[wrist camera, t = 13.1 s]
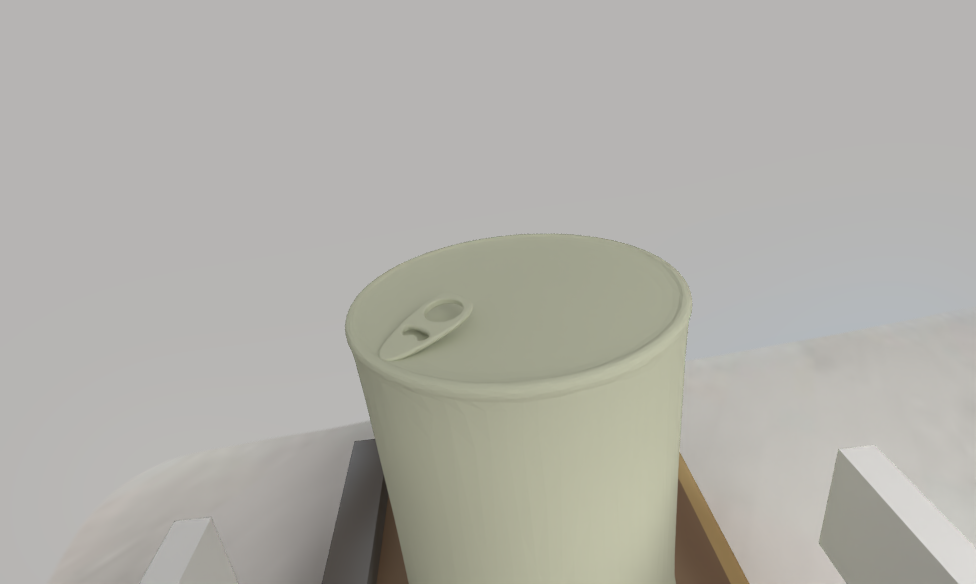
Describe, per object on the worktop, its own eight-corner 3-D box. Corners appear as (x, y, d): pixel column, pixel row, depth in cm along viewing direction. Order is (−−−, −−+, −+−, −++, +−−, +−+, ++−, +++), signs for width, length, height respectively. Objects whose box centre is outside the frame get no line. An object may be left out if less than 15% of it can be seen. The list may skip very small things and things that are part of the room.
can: (361, 590, 21) (275, 293, 16) (533, 457, 26) (511, 203, 21) (553, 811, 15) (514, 434, 10) (729, 575, 20) (764, 254, 15)
